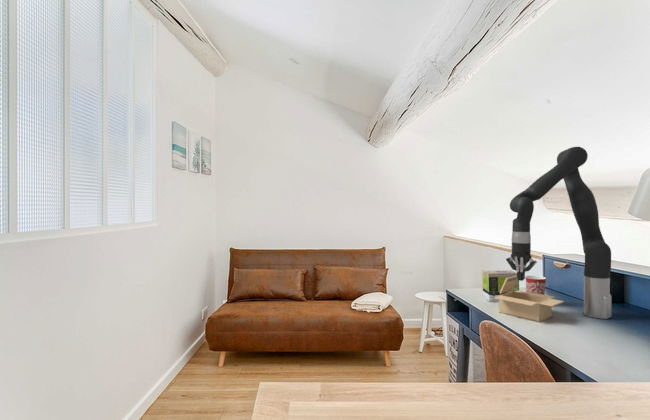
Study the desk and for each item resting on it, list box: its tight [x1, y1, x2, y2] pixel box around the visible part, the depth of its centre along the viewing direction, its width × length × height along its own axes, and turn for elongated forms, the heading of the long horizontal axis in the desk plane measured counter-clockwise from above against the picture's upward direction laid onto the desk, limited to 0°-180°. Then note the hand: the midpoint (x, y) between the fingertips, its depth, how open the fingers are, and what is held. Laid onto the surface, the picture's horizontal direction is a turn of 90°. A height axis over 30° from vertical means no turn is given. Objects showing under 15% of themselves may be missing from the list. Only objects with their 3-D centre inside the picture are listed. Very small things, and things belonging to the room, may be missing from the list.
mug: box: [525, 275, 547, 295], centre depth 185 cm, size 13×9×14 cm
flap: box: [500, 275, 517, 294], centre depth 171 cm, size 1×11×8 cm, turn 128°
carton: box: [495, 289, 565, 323], centre depth 164 cm, size 22×22×8 cm
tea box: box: [482, 269, 520, 303], centre depth 192 cm, size 15×10×15 cm, turn 84°
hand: (520, 280), depth 167 cm, fingers closed
